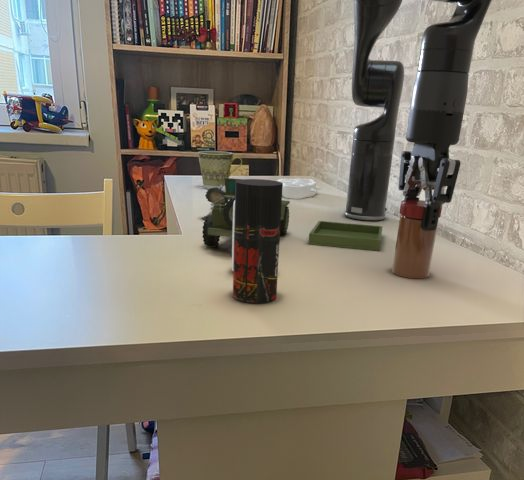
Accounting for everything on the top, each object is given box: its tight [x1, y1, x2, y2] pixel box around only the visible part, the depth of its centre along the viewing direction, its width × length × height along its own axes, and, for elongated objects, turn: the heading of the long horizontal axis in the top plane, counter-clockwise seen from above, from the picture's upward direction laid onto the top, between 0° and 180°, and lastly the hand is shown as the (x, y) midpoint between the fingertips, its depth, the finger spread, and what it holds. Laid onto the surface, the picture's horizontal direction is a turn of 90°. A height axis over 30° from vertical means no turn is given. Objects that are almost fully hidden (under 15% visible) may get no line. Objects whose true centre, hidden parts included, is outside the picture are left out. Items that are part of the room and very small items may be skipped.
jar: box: [391, 214, 440, 279], centre depth 88 cm, size 6×6×11 cm
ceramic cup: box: [197, 150, 244, 190], centre depth 163 cm, size 13×10×10 cm
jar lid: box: [398, 199, 443, 219], centre depth 86 cm, size 6×6×2 cm
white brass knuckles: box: [276, 178, 322, 200], centre depth 161 cm, size 3×18×15 cm
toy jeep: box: [202, 177, 291, 248], centre depth 103 cm, size 12×25×11 cm, turn 168°
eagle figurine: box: [200, 187, 226, 220], centre depth 122 cm, size 8×7×9 cm
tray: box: [308, 220, 384, 252], centre depth 110 cm, size 13×13×2 cm
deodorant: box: [232, 178, 283, 304], centre depth 73 cm, size 6×6×15 cm
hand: (418, 225), depth 87 cm, fingers closed on jar lid, 6 cm apart
